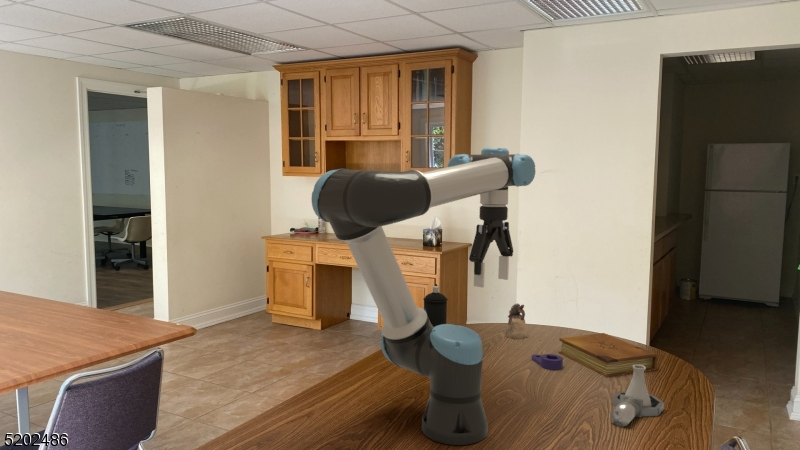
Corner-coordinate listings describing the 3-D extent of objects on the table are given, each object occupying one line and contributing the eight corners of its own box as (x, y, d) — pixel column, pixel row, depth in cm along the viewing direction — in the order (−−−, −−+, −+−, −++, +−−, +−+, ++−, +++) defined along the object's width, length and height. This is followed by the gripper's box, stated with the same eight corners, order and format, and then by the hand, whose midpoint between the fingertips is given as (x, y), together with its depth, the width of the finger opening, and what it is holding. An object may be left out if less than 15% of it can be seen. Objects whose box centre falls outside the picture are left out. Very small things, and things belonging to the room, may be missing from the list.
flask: (646, 399, 151) (649, 362, 150) (656, 411, 144) (659, 372, 143) (618, 398, 151) (620, 361, 150) (626, 409, 144) (628, 370, 143)
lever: (566, 369, 174) (567, 359, 174) (549, 372, 172) (550, 362, 172) (542, 357, 185) (542, 347, 185) (525, 359, 183) (526, 350, 183)
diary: (656, 372, 175) (657, 353, 174) (606, 379, 168) (607, 360, 167) (604, 348, 196) (605, 332, 195) (558, 354, 189) (559, 337, 189)
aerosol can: (450, 343, 198) (452, 286, 196) (439, 349, 191) (440, 290, 189) (429, 339, 202) (430, 283, 200) (418, 345, 195) (419, 287, 193)
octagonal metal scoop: (644, 433, 132) (646, 414, 132) (595, 419, 139) (596, 401, 139) (667, 405, 148) (668, 388, 148) (621, 394, 155) (622, 378, 155)
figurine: (514, 332, 212) (515, 300, 211) (530, 336, 207) (531, 303, 206) (502, 335, 208) (503, 303, 207) (518, 340, 202) (519, 306, 201)
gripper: (503, 202, 168) (500, 274, 170) (457, 206, 149) (455, 287, 151) (526, 204, 164) (524, 277, 166) (482, 208, 144) (480, 292, 146)
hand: (491, 282), depth 158 cm, fingers open, 13 cm apart
